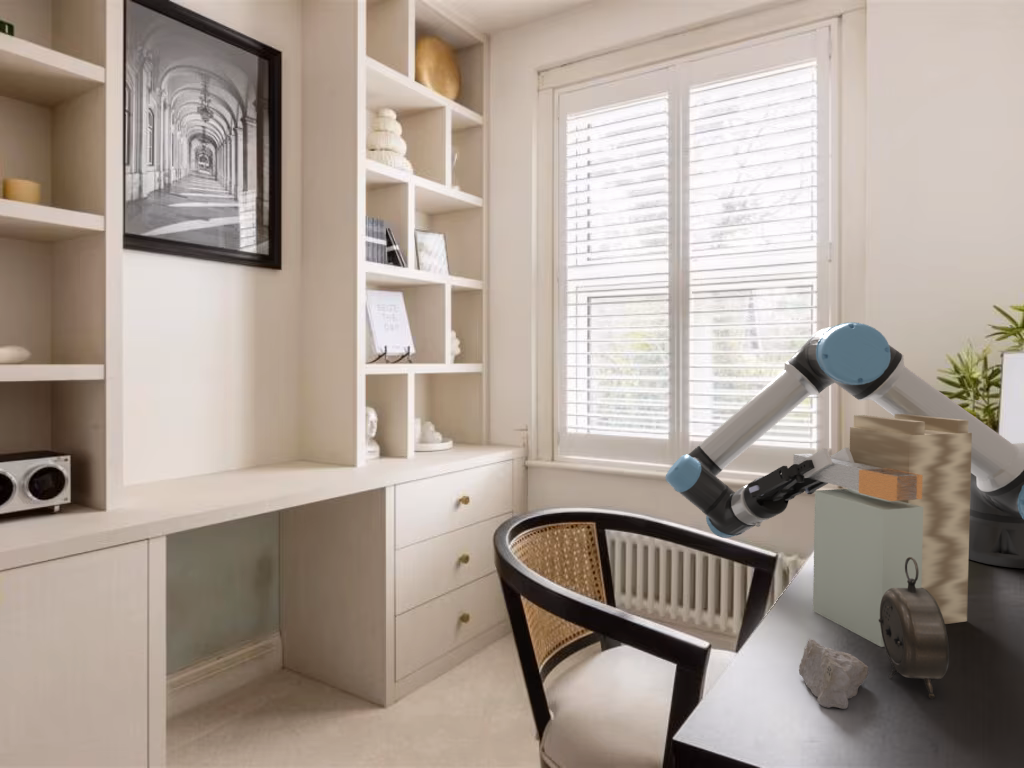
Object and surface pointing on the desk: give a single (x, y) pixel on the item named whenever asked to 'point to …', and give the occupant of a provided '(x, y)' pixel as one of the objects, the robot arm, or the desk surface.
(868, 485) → the grey long bar
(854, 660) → the stone
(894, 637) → the alarm clock
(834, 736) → the desk surface
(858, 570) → the pale green block
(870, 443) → the stand
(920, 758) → the desk surface
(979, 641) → the desk surface
